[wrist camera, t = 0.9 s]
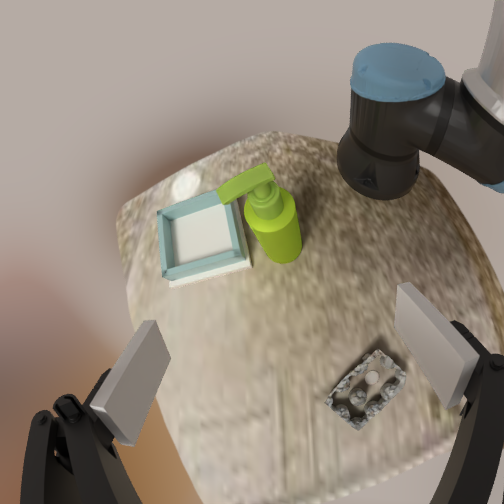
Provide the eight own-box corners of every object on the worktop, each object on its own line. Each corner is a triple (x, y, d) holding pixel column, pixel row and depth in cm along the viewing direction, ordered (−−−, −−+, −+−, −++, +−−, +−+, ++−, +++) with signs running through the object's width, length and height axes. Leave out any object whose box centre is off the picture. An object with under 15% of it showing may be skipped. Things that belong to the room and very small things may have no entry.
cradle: (235, 192, 48) (228, 180, 44) (252, 267, 43) (245, 260, 39) (165, 216, 50) (154, 207, 46) (173, 288, 45) (160, 283, 41)
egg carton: (373, 343, 36) (379, 344, 32) (404, 375, 33) (413, 378, 29) (320, 395, 35) (321, 401, 31) (353, 426, 32) (357, 435, 28)
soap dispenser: (252, 241, 44) (206, 172, 26) (291, 221, 44) (270, 140, 25) (268, 273, 42) (229, 220, 24) (308, 252, 42) (300, 183, 23)
